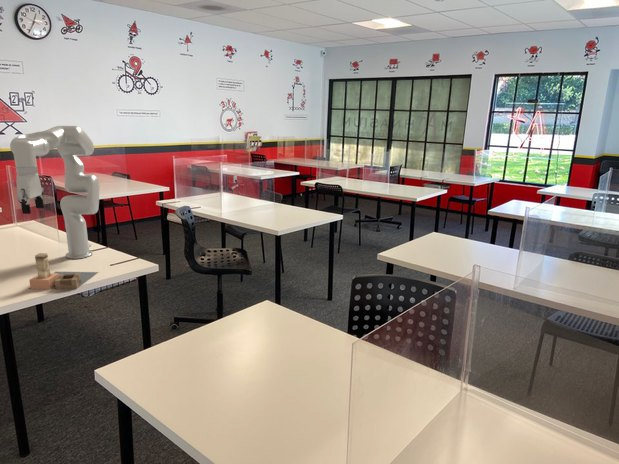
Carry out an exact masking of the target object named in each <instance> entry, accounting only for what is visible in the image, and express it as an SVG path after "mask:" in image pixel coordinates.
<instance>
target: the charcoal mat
mask: <svg viewBox="0 0 619 464" xmlns="http://www.w3.org/2000/svg"><path fill="white" fill-rule="evenodd" d="M53 273H59V275H60V274H74V273H80V276H81V283H80V284H79V286H78V288H76V289H69V290H74V291H76V290H78V289H79V288H80V287H81V286H83V285H84V284H86V283H87V282H88V281H89V280H91V279H92V278H93V277H95V276H96V275H97V274H98V273H100V272H99V271H98V272H97V271H55V272H53ZM28 289H29V290H32V289H31V288H30V287H29V288H28ZM50 290H56V286H54V287H52V288H51V289H50Z"/></svg>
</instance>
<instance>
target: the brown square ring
mask: <svg viewBox="0 0 619 464" xmlns="http://www.w3.org/2000/svg"><path fill="white" fill-rule="evenodd" d="M80 283H81V276H80V273H74V274H60V275H59V276H58V278H57V279H56V280H55V286H56V289H55V291H59V290H60V291H62V290H70V289H76V288H77V289H79V288H78V286H79V284H80ZM77 289H76V290H77Z"/></svg>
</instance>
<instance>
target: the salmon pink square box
mask: <svg viewBox="0 0 619 464" xmlns="http://www.w3.org/2000/svg"><path fill="white" fill-rule="evenodd" d="M58 276H59V273H54V272H52V273H51V272H50V277H48V278H47V279H45V278H38V274H37V275H34V276H32V277H31V278H30V279H28V280H29V281H28V282H29V288H31V289H30V290H52V289H51V288H52V287H54V286H55V280H56V279H57V278H58Z"/></svg>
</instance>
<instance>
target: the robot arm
mask: <svg viewBox="0 0 619 464" xmlns="http://www.w3.org/2000/svg"><path fill="white" fill-rule="evenodd" d="M9 149H10V151H11V152H12V154H13V159H14V165H15V170H16V171H15V172H16V191H17V194H16V198H17V200H18V203H19V205H20V207H21V212H22V214H23V215H30V214H32V210H31V205H30V200H32V199H34V198H35V199H34V203H35V208H36V209H44V208H45V206H44V205H45V204H44V187H42V184H41V179H40V176H39V170H38V163H37V157H44V156H46V155H48V154H49V152H50V150H54V149H56V150H57V152H58V154H59V155H60V157H61V158H62V160H63V162H64V168H65V169H64V170H65V171H64V189H65V191H67V192H68V193H72V194H76V195H66V196H63V197H62V198H61V200H60V203H59V205H60V206H59V207H60V209H61V212H62V215H63V220H64V227H65V235H66V241H67V242H66V243H67V250H68V252H67V253H65V258H67V259H69V260H73V259H74V260H76V259H77V260H78V259H79V260H80V259H84V258H89V257H91V256H93V251H92V250H90V248H91V247H92V243H89V239H88V238H89V237H88V229H87V222H86V221H87V220H85V218H84V216H82V215H95V214H97V213H98V211H99V205H100V181H99V178H98V177H97V176H96V175H95V174H89V173H87V174H86V173H85V166H84V165H85V164H84V162H83V160H81V159H80V157H79V156H83V157H84V156H85V157H87V156H88V157H89V156H91V155H93V153H94V151H95V145H94V143H93V141H92V139H91V138H90V136H89V135H88V133H86V132H85V130H84V129H83V128H81V127H80V126H76V125H56V126H53V127H50V128H48V129H45V130H42V131H37V132H32V133H25V134H21V135H18V136H16V137H14V138H12V139H11V141H10V143H9ZM77 194H78V195H77ZM79 194H87V195H79Z"/></svg>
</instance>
